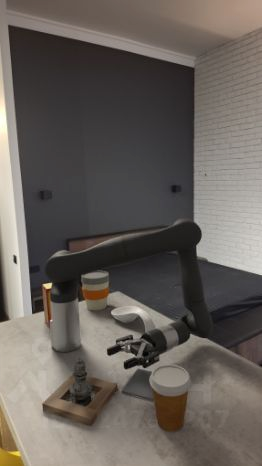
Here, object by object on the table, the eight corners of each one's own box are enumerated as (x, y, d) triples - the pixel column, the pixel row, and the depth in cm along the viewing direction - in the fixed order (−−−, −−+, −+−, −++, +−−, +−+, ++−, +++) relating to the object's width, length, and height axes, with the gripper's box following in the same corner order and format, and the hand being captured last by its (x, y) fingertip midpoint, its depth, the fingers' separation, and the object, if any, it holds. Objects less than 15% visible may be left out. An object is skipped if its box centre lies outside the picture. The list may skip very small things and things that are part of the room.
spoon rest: (106, 318, 133) (105, 301, 132) (130, 311, 140) (129, 295, 138) (139, 341, 114) (138, 322, 113) (164, 331, 120) (164, 313, 119)
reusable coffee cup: (99, 314, 137) (97, 280, 135) (76, 308, 144) (74, 276, 141) (116, 304, 148) (114, 272, 145) (94, 299, 154) (92, 269, 152)
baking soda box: (48, 327, 126) (45, 288, 124) (44, 321, 132) (41, 283, 129) (72, 321, 131) (69, 283, 128) (67, 315, 136) (64, 279, 134)
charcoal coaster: (121, 392, 86) (121, 390, 86) (137, 370, 96) (137, 368, 96) (160, 403, 82) (160, 401, 82) (173, 378, 92) (173, 376, 92)
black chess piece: (88, 409, 80) (86, 365, 78) (66, 406, 82) (63, 363, 80) (96, 393, 86) (93, 352, 84) (75, 391, 87) (72, 350, 85)
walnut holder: (42, 410, 80) (42, 403, 80) (74, 378, 93) (74, 372, 93) (91, 426, 75) (90, 418, 74) (117, 390, 87) (117, 383, 87)
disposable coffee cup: (147, 409, 80) (146, 364, 78) (185, 405, 81) (185, 361, 79) (153, 439, 71) (152, 390, 69) (196, 435, 71) (196, 386, 69)
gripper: (145, 321, 103) (101, 336, 94) (176, 337, 92) (130, 357, 83) (145, 342, 105) (102, 360, 95) (176, 361, 93) (131, 383, 84)
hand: (115, 358), depth 89 cm, fingers open, 8 cm apart
